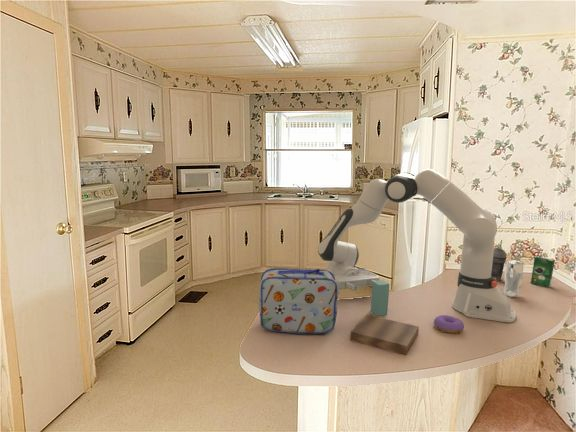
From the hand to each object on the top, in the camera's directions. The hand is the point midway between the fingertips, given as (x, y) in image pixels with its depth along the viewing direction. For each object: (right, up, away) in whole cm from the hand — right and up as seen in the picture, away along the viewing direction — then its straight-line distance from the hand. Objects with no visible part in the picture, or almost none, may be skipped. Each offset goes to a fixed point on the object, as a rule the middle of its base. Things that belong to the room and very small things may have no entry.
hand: (365, 287), depth 163 cm
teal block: (+3, -8, -9) cm, 13 cm away
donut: (+25, -11, -21) cm, 35 cm away
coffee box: (+88, -4, +28) cm, 93 cm away
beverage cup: (+70, -3, +35) cm, 79 cm away
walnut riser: (+1, -11, -29) cm, 31 cm away
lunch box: (-28, -10, -24) cm, 38 cm away
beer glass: (+66, -6, +14) cm, 68 cm away
